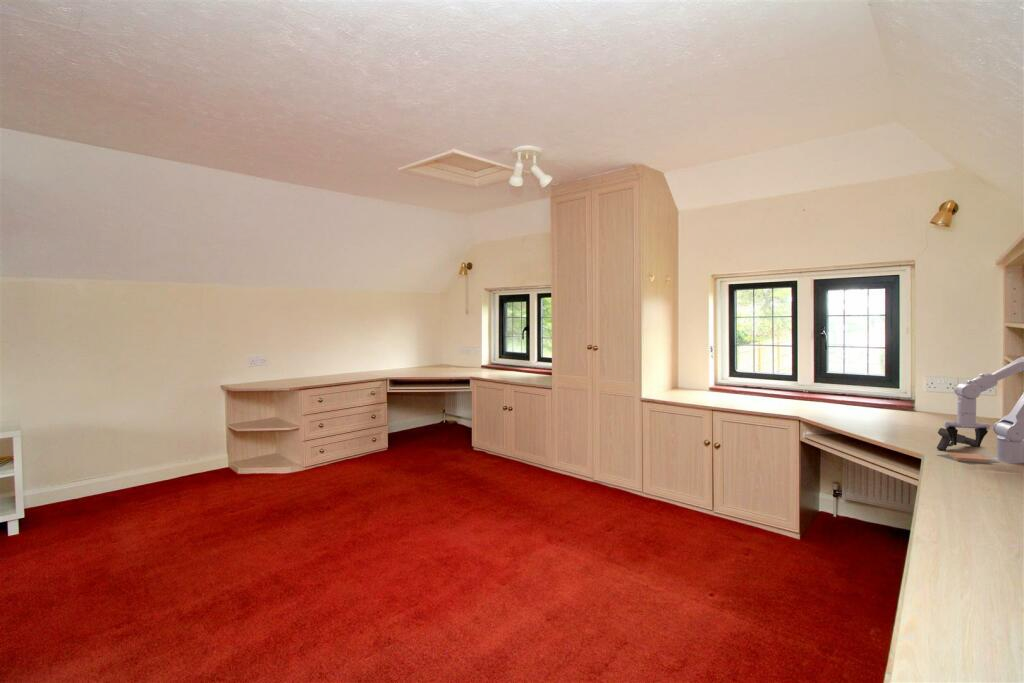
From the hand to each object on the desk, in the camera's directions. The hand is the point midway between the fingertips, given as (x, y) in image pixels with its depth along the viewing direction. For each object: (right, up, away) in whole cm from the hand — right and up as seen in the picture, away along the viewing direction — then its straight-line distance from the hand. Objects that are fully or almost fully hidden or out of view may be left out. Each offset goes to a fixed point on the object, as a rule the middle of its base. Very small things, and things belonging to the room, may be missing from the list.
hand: (966, 445), depth 209 cm
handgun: (+12, -5, +17) cm, 21 cm away
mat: (0, -6, 0) cm, 6 cm away
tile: (+1, -5, +2) cm, 5 cm away
